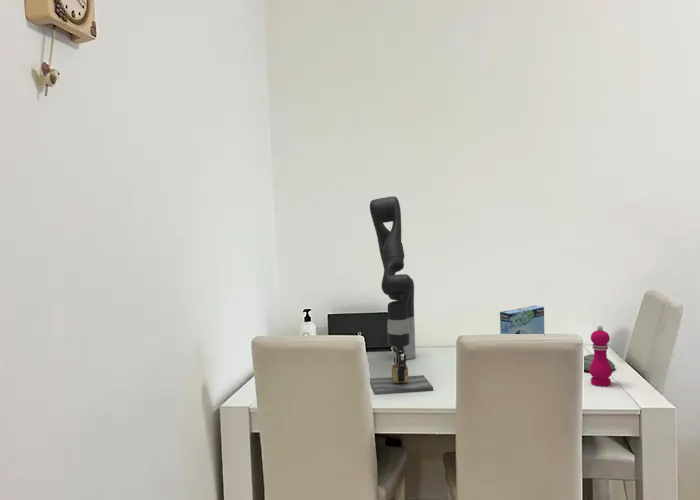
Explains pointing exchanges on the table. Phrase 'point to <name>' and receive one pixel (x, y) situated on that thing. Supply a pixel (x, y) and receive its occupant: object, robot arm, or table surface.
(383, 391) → the slate board
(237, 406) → the table surface
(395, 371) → the oak cube
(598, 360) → the pepper mill
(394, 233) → the robot arm
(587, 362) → the grey round bowl
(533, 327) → the gum box
